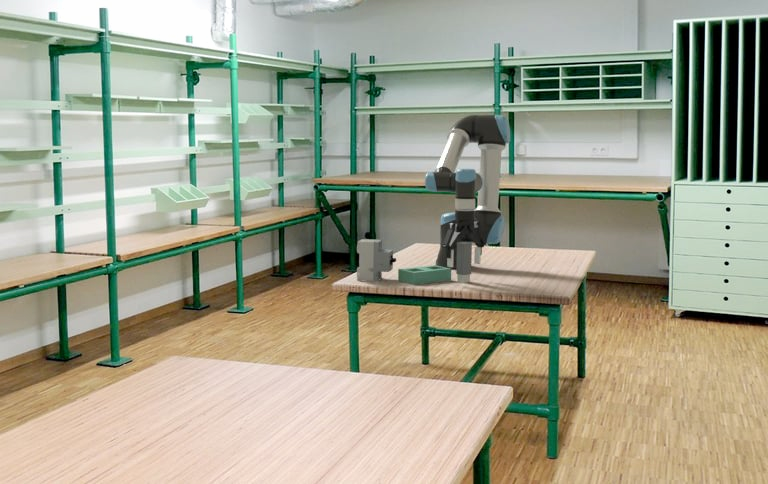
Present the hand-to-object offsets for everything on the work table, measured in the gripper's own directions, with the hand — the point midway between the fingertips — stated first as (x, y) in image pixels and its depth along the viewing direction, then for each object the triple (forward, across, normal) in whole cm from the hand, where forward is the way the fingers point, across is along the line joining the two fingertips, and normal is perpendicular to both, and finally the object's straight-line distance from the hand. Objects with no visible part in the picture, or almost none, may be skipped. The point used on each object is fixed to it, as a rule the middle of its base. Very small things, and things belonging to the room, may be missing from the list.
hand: (463, 265), depth 328 cm
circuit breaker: (+7, +25, -22) cm, 34 cm away
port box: (+6, +11, -10) cm, 16 cm away
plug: (+6, 0, 0) cm, 6 cm away
